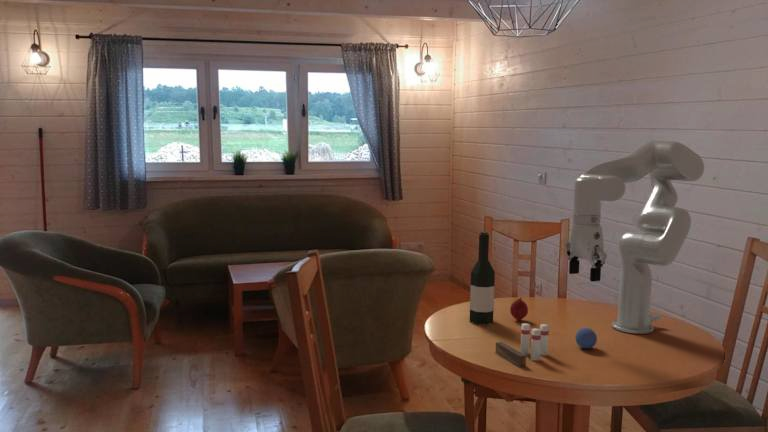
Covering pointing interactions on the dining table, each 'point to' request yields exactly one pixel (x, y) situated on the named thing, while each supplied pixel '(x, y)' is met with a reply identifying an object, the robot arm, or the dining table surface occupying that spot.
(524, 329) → the pin
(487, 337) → the dining table surface
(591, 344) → the ball
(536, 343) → the pin
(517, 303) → the onion
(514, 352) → the wall
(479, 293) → the wine bottle
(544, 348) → the pin front
